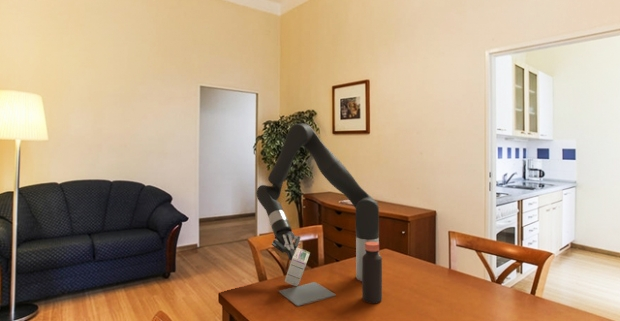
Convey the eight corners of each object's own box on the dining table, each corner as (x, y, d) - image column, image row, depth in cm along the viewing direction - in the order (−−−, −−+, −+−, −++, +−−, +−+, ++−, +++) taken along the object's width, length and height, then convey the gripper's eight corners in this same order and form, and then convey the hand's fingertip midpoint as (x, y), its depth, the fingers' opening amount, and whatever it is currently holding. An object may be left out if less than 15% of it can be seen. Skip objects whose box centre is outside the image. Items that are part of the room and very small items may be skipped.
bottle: (370, 305, 114) (370, 247, 114) (358, 297, 120) (358, 242, 120) (385, 301, 117) (385, 244, 117) (373, 294, 123) (373, 240, 123)
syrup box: (297, 287, 130) (307, 263, 122) (283, 281, 130) (292, 257, 123) (301, 276, 135) (311, 252, 127) (287, 270, 135) (296, 246, 127)
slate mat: (314, 283, 134) (314, 281, 134) (335, 295, 122) (335, 294, 122) (278, 292, 125) (278, 290, 125) (297, 306, 113) (297, 305, 113)
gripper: (267, 220, 136) (281, 257, 126) (296, 216, 143) (311, 252, 133) (262, 230, 141) (275, 267, 131) (290, 226, 148) (304, 261, 138)
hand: (293, 259), depth 132 cm, fingers closed
